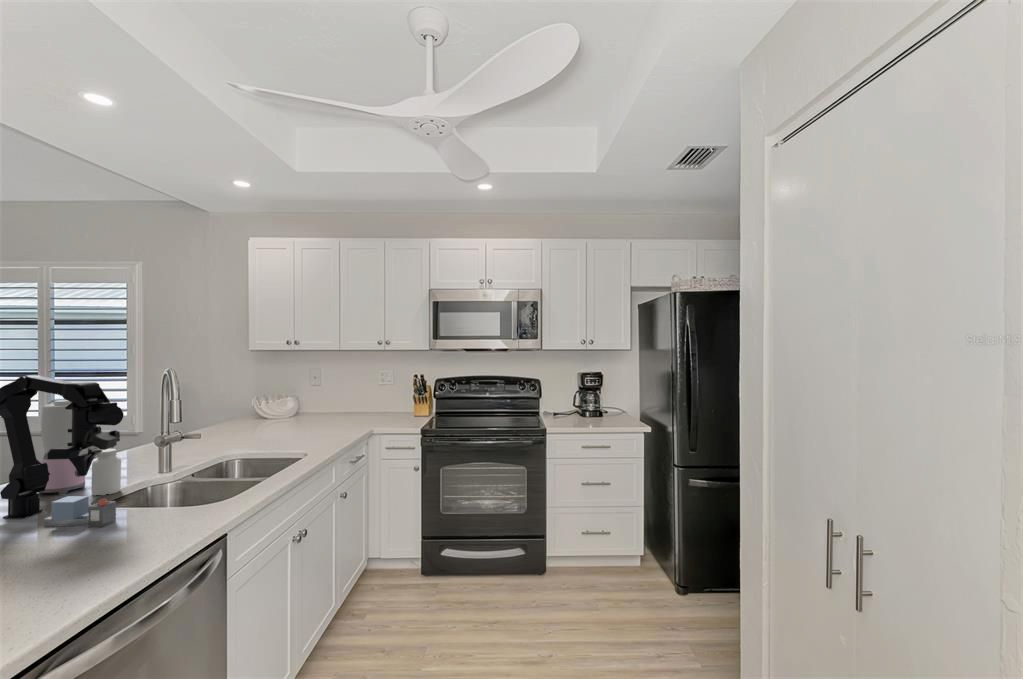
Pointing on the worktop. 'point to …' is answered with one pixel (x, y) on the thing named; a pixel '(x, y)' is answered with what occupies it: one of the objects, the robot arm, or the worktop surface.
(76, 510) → the pale blue box
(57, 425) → the blender
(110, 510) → the end cabinet
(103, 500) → the gauge button
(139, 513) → the worktop surface
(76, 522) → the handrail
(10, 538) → the worktop surface
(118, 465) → the pill bottle
